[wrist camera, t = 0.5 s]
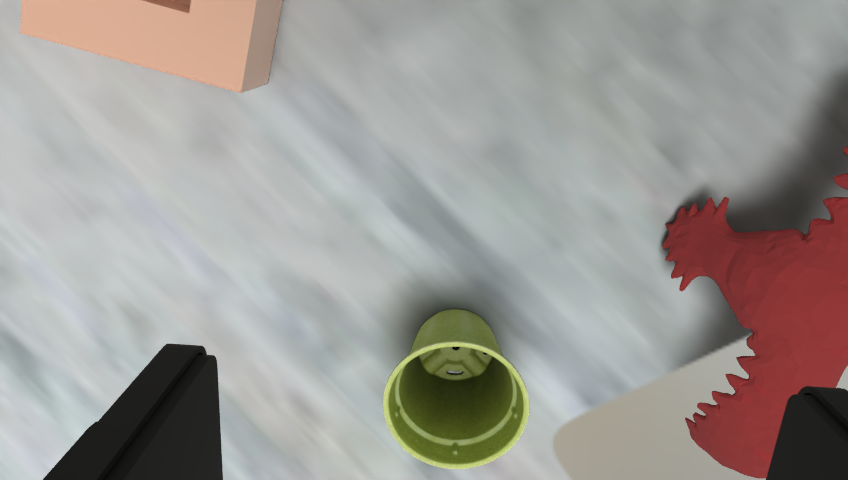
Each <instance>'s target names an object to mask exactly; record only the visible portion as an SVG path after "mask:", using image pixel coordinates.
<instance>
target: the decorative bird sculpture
mask: <svg viewBox="0 0 848 480" xmlns="http://www.w3.org/2000/svg"><path fill="white" fill-rule="evenodd" d="M843 152H844V153H845V154H846V155H848V146H847V147H845V148H844V149H843ZM833 179H834V181H835V183H836V184H837V185H839V186H841V187H843V188H845V189H847V190H848V173H845V174H840V175H838V176H835V177H833ZM728 201H729V199H728V198H727V197H724V198H723V200H722V201H721V203H720V204H719V206H718V207H717V208H716V206H715V203H714V201H713V199H712V198H708V200H707V202H706V204H705V205H704V207H703V208H702V209H701V211H699V210H698V208H697V205H696V204H695V203H694V204H693V205H692V206H691V207H690V210H689V211H688V212H687V210H686V208H685V207H682V208H681V209H680V210H679V212H678V215H677V218H676V220H675V222H674V223H673V224H671V223H667V224H666V227H667V229H668V230H669V235H668V237H667V239H666V241H665V242H664V244H663V249H668V248H669V249H670V252H669V254H668V255H667V257H666V259H665V260H667V261H673V260H674V261H675V267H674V270H673V272H672V274H671V278H678V277H680V276H683V279H682V281H681V284H680V291H683V290H685V288H686V287H687V286H688V285H689V283H690V282H691V281H692V280H693V279H694V278H696V277H697V276H708V277H710V278H712V279H713V280H714V281H715V282H716V283H717V285H718V286H719V288H720V290H721V292H722V294H723V296H724V297H725V299H726V301H727V302H728V304H729V306H730V307H731V309H732V310H733V312H734V313H735V315H736V317H737V319H738V321H739V323H740V324H741V326H742V327H743V328H750V329H751V330H752V333H753V334H752V335H751V336H749V337H748V338H747V339H746V340H747V346H748V347H749V348H750V349H752V350H753V351H754V353H755V356H740V357H737V360H738V362H739V364H740V365H741V367H742V368H743V369H744V370H745V371H746V372H747V374H749V378H748V379H744V378H741V377H739V376H736V375H733V374H726V377H727V379H728V382H729V383H730V385H731V386H732V387H733V388H734V390H735V393H734V394H733V395H731V394H728V393H721V392H717V391H712V396H713V399H714V400H715V401H716V402H717V403H718V404H717V405H711V404H707V403H698V405H697V407H698V408H699V409H700V410H702V411H703V412H704V413H705V414H706V416H703V415H700V414H698V413H694V414H693V418H694V421H695V423H694V422H693V421H691V420H690V419H688V418H685V420H686V423H687V425H688V428H689V430H690V435H691V437H692V439H693V440H694V441H695V442H696V443H697V444H698V446H700V447H701V448H702V449H703V450H705V451H706V452H707V453H708V454H709V455H710V456H712V457H713V458H714V459H715V460H716V461H718V462H719V463H720V464H721V465H723V466H725V467H728V468H730V469H733V470H735V471H737V472H739V473H742V474H744V475H747V476H751V477H755V478H767V474H768V470H769V467H770V463H771V459H772V455H773V452H774V448H775V444H776V441H777V437H778V433H779V430H780V426H781V422H782V419H783V415H784V411H785V408H786V404H787V401H788V399H789V398H790V396H791V395H794V394H798V392H799V391H800V390H801V389H802V388H803V387H805V386H813V387H828V388H836V386H837V383H838V382H839V380H840V377H841V375H842V373H843V371H844V370H845V368H846V367H847V365H848V197H847V198H846V197H833V198H827V199H824V200H822V201H823V203H824V204H825V206H826V207H827V209H828V211H829V213H830V215H831V220H825V219H819V218H817V219H813V220H812V221H811V222H810V226H809V231H808V234H807V235H805V234H803V233H802V232H801V231H799V230H796V229H785V230H777V231H765V230H764V231H756V232H735V231H734V230H733V229H732V228H731V227H730V226H729V224H728V223H727V220H726V211H727V206H728Z"/></svg>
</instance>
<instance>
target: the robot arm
mask: <svg viewBox="0 0 848 480" xmlns="http://www.w3.org/2000/svg"><path fill="white" fill-rule="evenodd" d="M43 480H223V474H222V454H221V433H220V413H219V392H218V372H217V360H216V357H215V356H214V355H207V354H206V350H205V348H204V347H203V346H196V345H181V344H166V345H165V346H164V347H163V348H162V349H161V350H160V351H159V352H158V354H157V355H156V356H155V357H154V358H153V359H152V360H151V362H150V363H149V364H148V365H147V366H146V367H145V368H144V370H143V371H142V372H141V373H140V374H139V375H138V376H137V378H136V379H135V380H134V381H133V382H132V383H131V384H130V386H129V387H128V388H127V389H126V390H125V391H124V392H123V394H122V395H121V396H120V397H119V398H118V399H117V400H116V402H115V403H114V404H113V405H112V406H111V407H110V408H109V410H108V411H107V412H106V413H105V414H104V415H103V416H102V418H101V419H100V420H99V421H98V422H95V423H94V424H93V425H91V426H90V427H89V428H88V429H87V430H86V431H85V433H84V434H83V435H82V436H81V437H80V438H79V439H78V440H77V442H76V443H75V444H74V445H73V446H72V447H71V448H70V450H69V451H68V452H67V453H66V454H65V455H64V456H63V457H62V459H61V460H60V461H59V462H58V463H57V464H56V465H55V466H54V468H53V469H52V470H51V471H50V472H49V473H48V474H47V476H46V477H45V478H44V479H43ZM766 480H848V391H847V390H845V389H841V388H828V387H813V386H805V387H803V388H802V389H801V390H800V391H799V392H798V394H794V395H791V396H790V398H789V399H788V401H787V404H786V408H785V411H784V415H783V419H782V422H781V426H780V430H779V433H778V437H777V441H776V444H775V448H774V452H773V455H772V459H771V463H770V467H769V470H768V474H767V478H766Z"/></svg>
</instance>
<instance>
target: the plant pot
mask: <svg viewBox="0 0 848 480" xmlns="http://www.w3.org/2000/svg"><path fill="white" fill-rule="evenodd" d="M452 347H459V349H458V350H454V349H453V348H452ZM483 352H485V353H487V354H486V355H484V354H483ZM447 370H451V371H458V372H459V371H463V372H464V373H463V374H460V375H451V374H448V373H447ZM383 411H384V416H385V420H386V423H387V426H388V428H389V430H390V432H391V434H392V435H393V437H394V438H395V440H396V441H397V442H398V443H399V444H400V445H401V447H402V448H403V449H404V450H405V451H406V452H408V453H409V454H411V455H412V456H414V457H415V458H417V459H419V460H421V461H423V462H425V463H428V464H430V465H434V466H436V467H441V468H447V469H467V468H472V467H477V466H481V465H484V464H486V463H489V462H491V461H493V460H495V459H497V458H499V457H500V456H502V455H503V454H504V453H506V452H507V451H508V450H509V449H510V448H511V447H512V446H513V445H514V444H515V443H516V442H517V441H518V439H519V438H520V436H521V435H522V433H523V431H524V429H525V426H526V423H527V420H528V415H529V398H528V393H527V390H526V387H525V384H524V382H523V380H522V378H521V376H520V374H519V373H518V371H517V370H516V369H515V367H514V366H513V365H512V364H511V363H510V362H509V361H508V360H507V359H506V358H505V357H503V355H502V352H501V350H500V348H499V346H498V343H497V341H496V338H495V336H494V334H493V332H492V330H491V328H490V327H489V326H488V324H487V323H486V322H485V321H484V320H483V319H481V318H480V317H479V316H478V315H476V314H474V313H472V312H469V311H466V310H460V309H451V310H445V311H441V312H439V313H437V314H435V315H434V316H432V317H431V318H430V319H428V320H427V321H426V322H425V323H424V324H423V325H422V326H421V328H420V330H419V332H418V334H417V336H416V338H415V341H414V343H413V346H412V348H411V351H410V353H409V355H408V356H406V357H405V358H404V359H403V360H402V361H401V362H400V363H399V364H398V365H397V366H396V367H395V369H394V370H393V372H392V373H391V375H390V377H389V379H388V381H387V384H386V387H385V391H384V396H383Z"/></svg>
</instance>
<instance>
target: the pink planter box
mask: <svg viewBox="0 0 848 480" xmlns="http://www.w3.org/2000/svg"><path fill="white" fill-rule="evenodd" d="M282 2H283V0H22V10H21V28H20V33H22V34H26V35H30V36H33V37H37V38H41V39H44V40H48V41H52V42H55V43H59V44H63V45H66V46H70V47H74V48H77V49H81V50H85V51H88V52H92V53H96V54H99V55H103V56H107V57H110V58H114V59H118V60H121V61H125V62H129V63H132V64H136V65H140V66H143V67H147V68H151V69H154V70H158V71H162V72H165V73H169V74H173V75H176V76H180V77H184V78H187V79H191V80H195V81H198V82H202V83H206V84H210V85H213V86H217V87H221V88H224V89H228V90H232V91H235V92H239V93H242V92H245V91H248V90H251V89H254V88H256V87H259V86H262V85H265V84H267V83H268V79H269V74H270V68H271V63H272V57H273V52H274V46H275V41H276V35H277V30H278V24H279V19H280V13H281V8H282Z"/></svg>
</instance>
